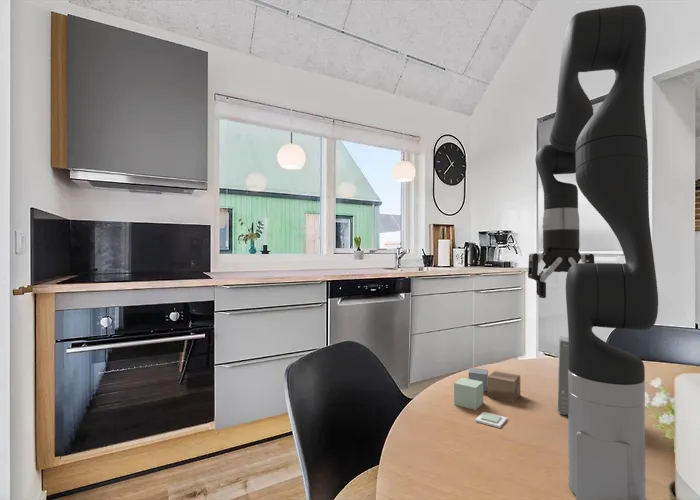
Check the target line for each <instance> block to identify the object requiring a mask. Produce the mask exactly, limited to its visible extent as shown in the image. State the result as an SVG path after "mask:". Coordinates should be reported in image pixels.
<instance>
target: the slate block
mask: <svg viewBox="0 0 700 500" xmlns="http://www.w3.org/2000/svg"><path fill="white" fill-rule="evenodd" d="M488 376H489V369H485V368H476V367H470V368H469V371H468V379H472V380H477V381H482V382H483V392H487V393H488Z"/></svg>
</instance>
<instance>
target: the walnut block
mask: <svg viewBox="0 0 700 500" xmlns="http://www.w3.org/2000/svg"><path fill="white" fill-rule="evenodd" d="M520 396H521V375H520V374H514V373H511V372H510V373H509V372H505V371H499V370H494V371H493V372H492V373H491V374H488V389H487V398H491V399H496V400H500V401H504V402H507V403H515V402H516V401H517V400H518V399H519V398H520Z"/></svg>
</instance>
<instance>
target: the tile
mask: <svg viewBox="0 0 700 500" xmlns="http://www.w3.org/2000/svg"><path fill="white" fill-rule="evenodd" d="M507 420H508V417H506V416H502V415H497V414H495V413H491V412H486V411H482V412H481V413H480V414H479V415H478V416H477V417H476V418H475V419H474V422H476V423H479V424H483V425H487V426H491V427H494V428H499V429H501V427H502V426H503V425H504V424H505V423H506V422H507Z"/></svg>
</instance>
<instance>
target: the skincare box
mask: <svg viewBox="0 0 700 500" xmlns="http://www.w3.org/2000/svg"><path fill="white" fill-rule="evenodd" d="M558 338H559V348H558V377H557V380H558V381H557V383H558V384H557V411H558V414H559V415H564V416H568V350H569V336H568V337H567V336H559V337H558Z"/></svg>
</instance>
